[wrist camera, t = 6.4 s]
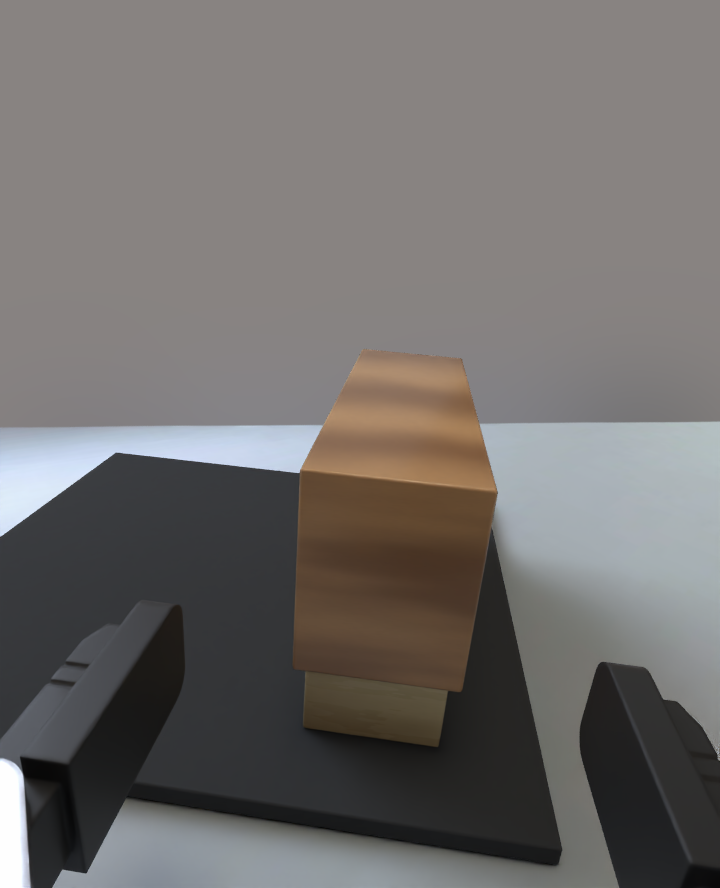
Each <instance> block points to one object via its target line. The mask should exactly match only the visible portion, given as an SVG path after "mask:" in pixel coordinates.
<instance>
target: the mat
mask: <svg viewBox="0 0 720 888" xmlns="http://www.w3.org/2000/svg"><path fill="white" fill-rule="evenodd" d="M299 483H300V473H291V472H283V471H274V470H265V469H256V468H247V467H238V466H230V465H221V464H212V463H203V462H194V461H185V460H176V459H168V458H159V457H150V456H141V455H132V454H123V453H115V454H114V455H112V456H111V457H110V458H108V459H107V460H105V461H104V462H103V463H101V464H100V465H99V466H97V467H96V468H95V469H93V470H92V471H90V472H89V473H88V474H86V475H85V476H84V477H82V478H81V479H79V480H78V481H77V482H75V483H74V484H73V485H71V486H70V487H68V488H67V489H66V490H64V491H63V492H62V493H60V494H59V495H57V496H56V497H55V498H53V499H52V500H51V501H49V502H48V503H47V504H45V505H44V506H42V507H41V508H40V509H38V510H37V511H36V512H34V513H33V514H31V515H30V516H29V517H27V518H26V519H25V520H23V521H22V522H20V523H19V524H18V525H16V526H15V527H14V528H12V529H11V530H9V531H8V532H7V533H5V534H4V535H3V536H1V537H0V739H1V738H2V737H3V736H4V734H5V733H6V732H7V731H8V730H9V728H10V727H11V726H12V725H13V724H14V722H15V721H16V720H17V719H18V718H19V716H20V715H21V714H22V713H23V712H24V710H25V709H26V708H27V707H28V705H29V704H30V703H31V702H32V701H33V699H34V698H35V697H36V696H37V695H38V693H39V692H40V691H41V690H42V689H43V687H44V686H45V685H46V684H49V683H50V679H51V678H52V676H53V675H54V674H55V673H56V672H57V670H58V669H59V668H60V667H61V666H64V664H65V661H66V660H67V658H68V657H69V656H70V655H71V653H72V652H73V651H74V650H75V649H76V647H77V646H78V645H79V644H80V643H81V641H82V640H83V639H85V638H86V637H88V636H89V635H91V634H92V633H94V632H95V631H97V630H98V629H100V628H101V627H103V626H105V625H106V624H108V623H111V624H118V625H120V624H121V623H122V622H123V621H124V619H125V618H126V617H127V615H128V614H129V613H130V611H131V610H132V609H133V607H134V606H135V605H136V604H137V603H138V602H139V601H141V600H147V601H155V602H162V603H170V604H178V605H180V606H181V608H182V613H183V630H184V650H185V675H184V681H183V685H182V688H181V692H180V694H179V697H178V699H177V701H176V703H175V705H174V707H173V709H172V711H171V713H170V715H169V717H168V718H167V720H166V722H165V724H164V726H163V728H162V730H161V732H160V734H159V736H158V738H157V739H156V741H155V743H154V745H153V747H152V749H151V751H150V753H149V755H148V757H147V759H146V760H145V762H144V764H143V766H142V768H141V770H140V772H139V774H138V776H137V778H136V780H135V781H134V783H133V785H132V787H131V789H130V791H129V793H128V795H127V796H129V797H136V798H142V799H148V800H154V801H161V802H167V803H173V804H179V805H186V806H192V807H198V808H204V809H211V810H217V811H223V812H230V813H236V814H242V815H248V816H255V817H261V818H267V819H273V820H280V821H286V822H292V823H298V824H305V825H311V826H317V827H323V828H330V829H336V830H342V831H348V832H355V833H361V834H367V835H374V836H380V837H386V838H392V839H399V840H405V841H411V842H417V843H424V844H430V845H436V846H442V847H449V848H455V849H461V850H467V851H474V852H480V853H486V854H492V855H499V856H505V857H511V858H518V859H524V860H530V861H536V862H543V863H549V864H555V865H556V864H558V862H559V859H560V856H561V852H562V846H561V842H560V837H559V833H558V828H557V823H556V819H555V814H554V810H553V805H552V801H551V796H550V791H549V787H548V782H547V778H546V773H545V768H544V764H543V759H542V755H541V750H540V746H539V741H538V736H537V732H536V727H535V723H534V718H533V714H532V709H531V704H530V700H529V695H528V691H527V686H526V681H525V677H524V672H523V668H522V663H521V659H520V654H519V649H518V645H517V640H516V636H515V631H514V627H513V622H512V617H511V613H510V608H509V604H508V599H507V595H506V590H505V585H504V581H503V576H502V572H501V567H500V562H499V558H498V553H497V549H496V544H495V540H494V535H493V530H492V527H491V533H490V539H489V544H488V550H487V555H486V561H485V566H484V572H483V577H482V583H481V589H480V594H479V600H478V605H477V611H476V616H475V622H474V627H473V633H472V639H471V644H470V650H469V655H468V661H467V666H466V672H465V677H464V683H463V689H462V691H461V692H453V691H448V695H447V701H446V706H445V712H444V718H443V724H442V730H441V736H440V742H439V746H438V747H432V746H425V745H418V744H411V743H405V742H398V741H391V740H384V739H377V738H370V737H364V736H357V735H350V734H343V733H336V732H330V731H323V730H316V729H309V728H304V727H303V713H304V692H305V672H306V671H302V670H295V669H293V641H294V614H295V588H296V562H297V536H298V509H299Z"/></svg>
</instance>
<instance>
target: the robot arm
mask: <svg viewBox="0 0 720 888" xmlns="http://www.w3.org/2000/svg"><path fill="white" fill-rule="evenodd" d="M184 675H185V650H184V630H183V613H182V608H181V606H180V605H178V604H170V603H162V602H155V601H147V600H141V601H139V602H138V603H137V604H136V605H135V606H134V607H133V609H132V610H131V611H130V613H129V614H128V615H127V617H126V618H125V619H124V621H123V622H122V623H121V624H120V625H118V624H111V623H108V624H106V625H105V626H103V627H101V628H100V629H98V630H97V631H95V632H94V633H92V634H91V635H89V636H88V637H86V638H85V639H83V640H82V641H81V643H80V644H79V645H78V646H77V647H76V649H75V650H74V651H73V652H72V653H71V655H70V656H69V657H68V658H67V660H66V661H65V664H64V666H61V667H60V668H59V669H58V670H57V672H56V673H55V674H54V675H53V676H52V678H51V679H50V683H49V684H46V685H45V686H44V687H43V689H42V690H41V691H40V692H39V693H38V695H37V696H36V697H35V698H34V699H33V701H32V702H31V703H30V704H29V705H28V707H27V708H26V709H25V710H24V712H23V713H22V714H21V715H20V716H19V718H18V719H17V720H16V721H15V722H14V724H13V725H12V726H11V727H10V728H9V730H8V731H7V732H6V733H5V734H4V736H3V737H2V738H1V739H0V888H52V887H53V885H54V883H55V881H56V879H57V878H58V876H59V874H60V872H61V871H62V869H63V870H69V871H75V872H81V873H87V871H88V869H89V867H90V866H91V864H92V862H93V860H94V858H95V856H96V854H97V852H98V850H99V848H100V846H101V844H102V843H103V841H104V839H105V837H106V835H107V833H108V831H109V829H110V827H111V825H112V823H113V822H114V820H115V818H116V816H117V814H118V812H119V810H120V808H121V806H122V804H123V802H124V801H125V799H126V797H127V795H128V793H129V791H130V789H131V787H132V785H133V783H134V781H135V780H136V778H137V776H138V774H139V772H140V770H141V768H142V766H143V764H144V762H145V760H146V759H147V757H148V755H149V753H150V751H151V749H152V747H153V745H154V743H155V741H156V739H157V738H158V736H159V734H160V732H161V730H162V728H163V726H164V724H165V722H166V720H167V718H168V717H169V715H170V713H171V711H172V709H173V707H174V705H175V703H176V701H177V699H178V697H179V694H180V692H181V688H182V685H183V681H184ZM580 751H581V757H582V761H583V765H584V768H585V772H586V775H587V779H588V782H589V785H590V789H591V792H592V796H593V799H594V802H595V806H596V809H597V813H598V816H599V820H600V823H601V826H602V830H603V833H604V837H605V840H606V844H607V847H608V850H609V854H610V857H611V861H612V864H613V867H614V871H615V874H616V878H617V881H618V885H619V888H720V761H718V758H717V756H718V755H717V753H716V751H715V750H714V748H713V746H712V744H711V742H710V741H709V739H708V737H707V735H706V733H705V731H704V730H703V728H702V727H701V725H700V724H699V723H698V722H697V721H696V720H695V719H694V718H693V717H692V716H691V715H690V714H689V713H688V712H687V711H686V710H685V709H684V708H683V707H682V706H681V705H680V704H679V703H678V702H676V701H669V700H663V698H662V696H661V694H660V692H659V690H658V688H657V686H656V684H655V682H654V680H653V678H652V676H651V675H650V673H649V671H648V670H647V669H646V668H644V667H638V666H631V665H623V664H616V663H608V662H601V663H600V664H599V665H598V667H597V669H596V672H595V675H594V679H593V682H592V686H591V689H590V693H589V696H588V700H587V703H586V707H585V710H584V714H583V717H582V721H581V726H580Z"/></svg>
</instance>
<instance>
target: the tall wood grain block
mask: <svg viewBox="0 0 720 888" xmlns="http://www.w3.org/2000/svg"><path fill="white" fill-rule="evenodd" d="M497 494H498V492H497V488H496V485H495V481H494V477H493V473H492V470H491V466H490V462H489V458H488V455H487V451H486V447H485V444H484V440H483V436H482V432H481V429H480V425H479V421H478V418H477V414H476V410H475V406H474V403H473V399H472V395H471V392H470V388H469V384H468V381H467V377H466V373H465V369H464V366H463V362H462V359H461V358H449V357H440V356H429V355H419V354H408V353H397V352H388V351H376V350H367V349H363V350H362V352H361V354H360V355H359V358H358V360H357V361H356V363H355V365H354V367H353V369H352V371H351V373H350V375H349V377H348V379H347V381H346V383H345V384H344V386H343V388H342V390H341V392H340V394H339V396H338V398H337V400H336V402H335V404H334V406H333V408H332V410H331V412H330V413H329V416H328V418H327V419H326V421H325V423H324V425H323V427H322V429H321V431H320V433H319V435H318V437H317V439H316V441H315V442H314V444H313V446H312V448H311V450H310V452H309V454H308V456H307V458H306V460H305V462H304V464H303V466H302V468H301V470H300V483H299V509H298V536H297V562H296V588H295V614H294V641H293V669H295V670H302V671H306V672H305V692H304V713H303V727H304V728H309V729H316V730H323V731H330V732H336V733H343V734H350V735H357V736H364V737H370V738H377V739H384V740H391V741H398V742H405V743H411V744H418V745H425V746H432V747H438V746H439V742H440V736H441V730H442V724H443V718H444V712H445V706H446V701H447V695H448V691H453V692H461V691H462V689H463V683H464V677H465V672H466V666H467V661H468V655H469V650H470V644H471V639H472V633H473V627H474V622H475V616H476V611H477V605H478V600H479V594H480V589H481V583H482V577H483V572H484V566H485V561H486V555H487V550H488V544H489V539H490V533H491V527H492V522H493V516H494V511H495V505H496V500H497Z"/></svg>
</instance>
